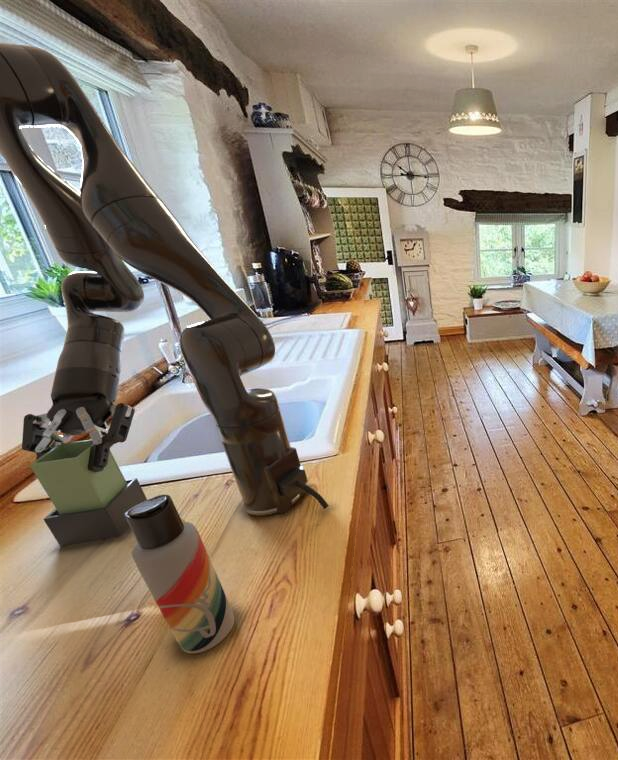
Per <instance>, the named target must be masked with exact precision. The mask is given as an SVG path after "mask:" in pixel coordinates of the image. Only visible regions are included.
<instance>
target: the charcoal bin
mask: <svg viewBox="0 0 618 760" xmlns="http://www.w3.org/2000/svg"><path fill="white" fill-rule="evenodd" d="M125 480H126V482H127V484H128V485H127V486H126V487H125V488H124V489H123V490H122V491H121V492H120V493H119V494H118V495H117V496H116V497H115V498H114V499H113V500H112V501H111V502H110V503H109V504H108V505H107V506H106V507H105V508H100V509H94V510H88V511H81V512H75V513H69V514H62V515H60V514H59V512H58V511H57V509H56V508H54V509H53V510H52V511H51V512H50V513H49V514H48V515H46V516H45V517H44V518H43V521H44V523H45V525H46V527H48V530H50V532H51V534H52V536H53V537H54V539H55V541H56V542H57V544H58V545H59V547H68V546H72V545H73V546H74V545H79V544H84V543H85V544H86V543H91V542H96V541H97V542H98V541H103V540H107V539H108V540H109V539H113V538H114V539H115V538H120V537H122V536H123V535H124V533H125V532H126V531H127V530H128V529H129V528H130V525H129V523H128V521H127V519H126V517H125V513H126V512H127V511H128V510H129V509H131V508H133V507H134V506H136V505H138V504H140V503H142V502H144V501H146V500H148V499H147V497H146V494H145V492H144V490H143V487H142V485H141V484H140V482H139V480H138V478H137V477H134V478H128V479H127V478H126V479H125Z"/></svg>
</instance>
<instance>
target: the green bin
mask: <svg viewBox="0 0 618 760" xmlns="http://www.w3.org/2000/svg"><path fill="white" fill-rule="evenodd" d="M94 445H95V444H93V442H92V440H91V439H85V440H84V439H83V440H76V441H69V442H67V443H63V444H61V445H58V446H56V447H55V448H53V449H52V450H50V451H49V452H47V453H46V454H45V455H43V456H42V457H40V458H39V459H37V460H36V459H35V461H33V462H31V463H30V464H29V467H30V468H31V470H32V472H33V474H34V473H35V474H34V475H35V477H36V478H37V480H38V482H39V484H40V485H41V486H42V489H43V490H44V492H45V493H46V495H47V497H48V498H49V500H50V501H51V503H52V504H53V506H54V509H57V511H58V512H59V514H60V515H62V514H69V513H75V512H81V511H88V510H94V509H100V508H105V507H106V506H107V505H108V504H109V503H110V502H111V501H112V500H113V499H114V498H115V497H116V496H117V495H118V494H119V493H120V492H121V491H122V490H123V489H124V488H125V487H126V486H127V485H128V484H127V482H126V480H127V479H126V478H125V476H124V474H123V472H122V470H121V468H120V467H119V465H118V463H117V461H116V459H115V457H114V454H113V452H112V451H111V450H110V451H109V457H108V463H107V465H106V467H104V469H103V471H99V472H94V471H90V470H88V462H89V456H90V450H91V446H94Z"/></svg>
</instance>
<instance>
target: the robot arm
mask: <svg viewBox="0 0 618 760" xmlns="http://www.w3.org/2000/svg"><path fill="white" fill-rule="evenodd" d="M29 127H30V128H33V127H34V128H47V127H48V128H50V127H53V128H55V127H57V128H58V127H59V128H61V127H62V128H64V129H66V130H67V131H68V132H69V133H70V134H71V135H72V136H73V137H74V139H75V140H76V142H77V144H78V145H79V147H80V151H81V159H82V162H81V163H82V167H81V168H82V169H81V178H80V187H79V189H80V190H78V189H77V188H76V187H74V186H73V185H72V184H71V183H69V182H68V181H67V180H65V179H64V178H63V177H61V175H60V174H58V173H56V171H54V169H52V168H51V167H50V166H49V165H48V164H46V162H45V161H43V160H42V159H41V158H40V157H39V156H38V154H37V153H36V152H35V151H34V150H33V148H32V147H31V145H30V144H29V143H28V141H27V139H26V137H25V135H24V134H23V132H22V128H29ZM0 156H1V157H2V159H3V160H4V162H5V163H6V165H7V167H8V168H9V169H10V172H12V173H13V175H14V177H15V178H16V180H17V181H18V183H19V184H20V185H21V187H22V188H23V190H24V191H25V193H26V195H27V196H28V198H29V200H30V201H31V203H32V204H33V206H34V208H35V210H36V211H37V214H38V215H39V217H40V219H41V221H42V223H43V225H44V228H45V229H46V232H47V234H48V236H49V239H50V240H51V242H52V244H53V247H54V248H55V250H56V253H57V254H58V256H59V258H60V259H61V260H62V261H63V262H64V263H66V264H67V265H70V266H73V267H76V268H79V269H80V268H81V269H84V270H88V271H72V272H71V273H69V274H67V275H66V276H65V277H64V279H62V281H61V285H60V288H61V294H62V298H63V302H64V307H65V310H66V319H67V320H66V321H67V330H66V334H65V339H64V344H63V347H62V351H61V352H60V354H59V357H58V360H57V364H56V369H55V373H54V378H53V379H54V380H53V382H52V387H51V392H50V399H51V401H52V405H51V408H49V410H47V412H46V413H42V414H37V415H36V414H32V413H28V414H26V415H24V417H23V422H22V423H23V426H22V438H21V439H22V440H21V449H22V450H23V451H25V452H31V453H35V454H36V458H35V461H36V460H37V459H39V458H40V457H42V456H43V455H45V454H46V453H47V452H49V451H50V450H52V449H53V448H55V447H56V446H58V445H61V444H63V443H69V442H71V440H72V439H73V437H74V436H79V435H82V434H88V435H89V437H90V440H92V442H93V444H95V445H94V446H91V450H90V456H89V462H88V470H90V471H94V472H99V471H103V469H104V467H106V465H107V463H108V457H109V451H111V448H112V447H113V446H114V445H115V444H118V443H121V444H122V443H124V442H125V441H127V438H128V435H129V432H130V430H131V429H130V428H131V426H132V423H133V419H134V416H135V412H136V409H135V408H134V407H132V406H131V405H128V404H125V403H124V402H120V403H117V404H116V405H115V404H114V403H116V401H117V395H118V389H119V384H120V376H121V371H122V353H123V347H124V346H123V345H124V340H125V327H124V325H123V324H122V323H121V322H120V321H119V320H117V319H115V318H113V317H109V316H105V315H102V314H97V313H96V312H99V313H100V312H101V313H132V312H136V311H138V310H139V309H140V308H141V307H142V306H143V304H144V302H145V301H144V300H145V293H144V289H143V287H142V285H141V284H140V281H139V280H138V279H137V277H136V276H135V274H134V273H133V272H132V271H131V269H129V267H128V266H130V267H131V268H133V269H135V270H137V271H138V272H140V273H142V274H144V275H146V276H147V277H150V278H151V279H153V280H155V281H157V282H159V283H161V284H163V285H165V286H167V287H168V288H171V289H172V290H173V291H176V292H178V293H179V294H181V295H183V296H184V297H186V298H187V299H188V300H190V301H191V302H192V303H194V305H195V306H196V307H198V308H199V309H200V311H202V312H203V313H204V314H205V316H206V317H207V318H208V320H204V321H201V322H197V323H194V324H191V325H188V326H187V327H185V328H184V329H183V330H182V332H181V333H180V335H179V348H180V349H179V350H180V353H181V357H182V359H183V362H184V365H185V367H186V368H187V371H188V373H189V375H190V377H191V380H192V383H193V384H194V387H195V388H196V391H197V393H198V396H199V398H200V400H201V402H202V404H203V405H204V407H205V409H206V410H207V411H208V413H209V414H210V416H211V417H212V420H213V422H214V425H215V428H216V431H217V433H218V436H219V439H220V442H221V444H222V447H223V450H224V454H225V455H226V459H227V461H228V464H229V467H230V469H231V472H232V475H233V478H234V481H235V483H236V486H237V488H238V491H239V495H240V496H241V498H242V502H243V507H244V509H245V511H246V513H247V514H249V515H250V516H255V517H265V516H271V515H275V514H285V513H286V512H287V511H289V510H290V509H291V508H292V507H293V506H294V505H295V504H296V503H298V501H299V500H300V499H301V498H302V497H303V496H305V495H306V494H307V493H308V494H309V495H311V496H312V497H313V498H314V499H315V500H316V501H317V502H318V503H319V505H320V506H321V507H322V509H324V510H326V509H327V508H328V507H329V503H328V502H327V501H326V500H325V498H323V496H322V495H321V494H320V493H319V492H317V490H316V489H313V488H312V487H310V486H309V485H307V483H308V481H309V480H308V478H307V473H306V470H305V469H304V466H303V465H301V462H300V458H299V454H298V450H297V448H296V447H293V446H291V443H290V440H289V436H288V433H287V429H286V426H285V422H284V418H283V415H282V412H281V407H280V404H279V401H278V397H277V395H276V393H275V392H274V391H273V390H271V389H268V388H263V387H249V388H246V386H245V385H244V382H243V380H242V378H241V377H242V376H244V375H246V374H249V373H251V372H253V371H255V370H258V369H260V368H262V367H264V366H266V365H268V364H269V363H271V362H272V361H273V360H274V358H275V355H276V345H275V344H276V343H275V341H274V338H273V336H272V333H271V332H270V331H269V328H267V326H266V324H265V323H264V322H263V321H262V319H261V318H260V317H259V316H258V314H257V313H256V312H255V311H254V310H253V309H252V308H251V307H250V306H249V304H247V303H246V301H244V300H243V299H242V297H241V296H240V295H239V294H238V293H237V292H236V291H235V290H234V289H233V288H232V287H231V285H230V284H229V283H228V282H227V281H226V280H225V279H224V278H223V277H222V275H220V273H219V272H218V270H217V269H215V267H214V266H213V265H212V264H211V262H210V261H209V260H208V258H207V257H206V256H205V255H204V254H203V252H202V251H201V250H200V249H199V248H198V246H197V245H196V243H195V242H194V241H193V240H192V239H191V237H190V236H189V235H188V233H187V232H186V231H185V229H184V227H183V226H182V224H181V223H180V221H178V219H177V218H176V217H175V215H174V214H173V213H172V212H171V210H170V208H168V206H167V205H166V203H165V202H164V201H163V200H162V199H161V198H160V196H159V195H158V194H157V192H156V191H155V190H154V189H153V188H152V187H151V185H150V184H149V182H147V180H146V179H145V178H144V176H143V175H142V174H141V173H140V171H139V170H138V169H137V167H136V166H135V165H134V163H133V161H131V159H130V158H129V157H128V156H127V154H126V153H125V151H124V150H123V148H122V147H121V146H120V144H119V143H118V142H117V140H116V139H115V137H114V136H113V134H112V133H111V131H110V130H109V128H108V126H107V125H106V124H105V122H104V120H103V119H102V117H101V116H100V114H99V113H98V111H97V110H96V108H95V107H94V105H93V104H92V102H91V101H90V99H89V98H88V96H87V95H86V93H85V92H84V90H83V89H82V87H81V85H80V84H79V83H78V82H77V80H76V78H75V77H74V76H73V74H72V73H71V72H70V70H68V68H67V67H66V66H65V64H63V63H62V61H60V59H58V57H56V56H55V55H54V54H53V53H51V52H50V51H48V50H46V49H43V48H40V47H37V46H32V45H26V44H16V43H6V42H0ZM125 263H126V264H127V265H128V266H127V265H126V264H125ZM111 417H112V418H111ZM110 418H111V421H110V424H109V426H108V424H107V421H108V420H109V419H110ZM58 432H59V433H62V434H58ZM33 475H35V473H34V472H33Z"/></svg>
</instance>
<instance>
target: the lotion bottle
mask: <svg viewBox="0 0 618 760" xmlns="http://www.w3.org/2000/svg"><path fill="white" fill-rule="evenodd" d="M125 517H126V519H127V521H128V523H129V525H130V526H129V528H130V529H131V532H132V534H133V536H134V538H135V540H136V543H135V545H134V546H133V548H132V549H131V557H132V559H133V561H134V564H135V566H136V568H137V569H138V572H139V573H140V575H141V577H142V579H143V581H144V583H145V585H146V586H147V588H148V590H149V592H150V594H151V596H152V598H153V600H154V602H155V603H156V605H157V608H158V609H159V611H160V613H161V615H162V616H163V618H164V620H165V622H166V624H167V626H168V628H169V630H170V631H171V633H172V635H173V637H174V638H175V639H174V640H176V642H177V644H178V646H179V647H180V648H181V650H182V651H183V652H184V653H187V654H199V653H202V652H206V651H208V650H211V649H212V648H214V647H215V646H217V645H218V644H220V643H221V642H222V641H223V640H224V639H225V638H226V637H227V636H228V635H229V634H230V632H231V631H232V628H233V626H234V624H235V615H234V612H233V609H232V607H231V604H230V602H229V600H228V596H227V595H226V593H225V590H224V588H223V586H222V583H221V581H220V579H219V576H218V575H217V572H216V570H215V567H214V565H213V562H212V561H211V558H210V556H209V554H208V551H207V549H206V546H205V544H204V542H203V539H202V537H201V535H200V533H199V531H198V529H197V527H196V525H195V524H194V523H192V522H189V521H186V522H182V520H181V518H182V517H181V516H180V514H179V512H178V510H177V507H176V505H175V503H174V501H173V499H172V497H171V495H169V494H159V495H156V496H153V497H150V498H149V499H147V500H146V501H144V502H142V503H140V504H138V505H136V506H134V507H133V508H131V509H129V510H128V511H127V512H126V513H125Z"/></svg>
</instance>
